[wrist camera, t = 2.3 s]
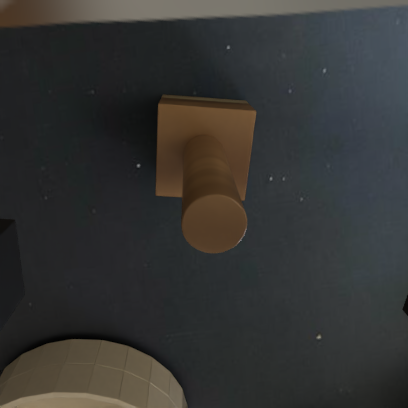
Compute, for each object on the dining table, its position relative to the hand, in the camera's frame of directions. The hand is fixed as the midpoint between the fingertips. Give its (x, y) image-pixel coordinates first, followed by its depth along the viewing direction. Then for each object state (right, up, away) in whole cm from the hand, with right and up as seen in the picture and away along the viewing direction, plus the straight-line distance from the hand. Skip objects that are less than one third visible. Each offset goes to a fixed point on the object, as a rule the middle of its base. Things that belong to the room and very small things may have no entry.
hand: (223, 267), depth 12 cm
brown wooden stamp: (-1, +7, +16) cm, 17 cm away
